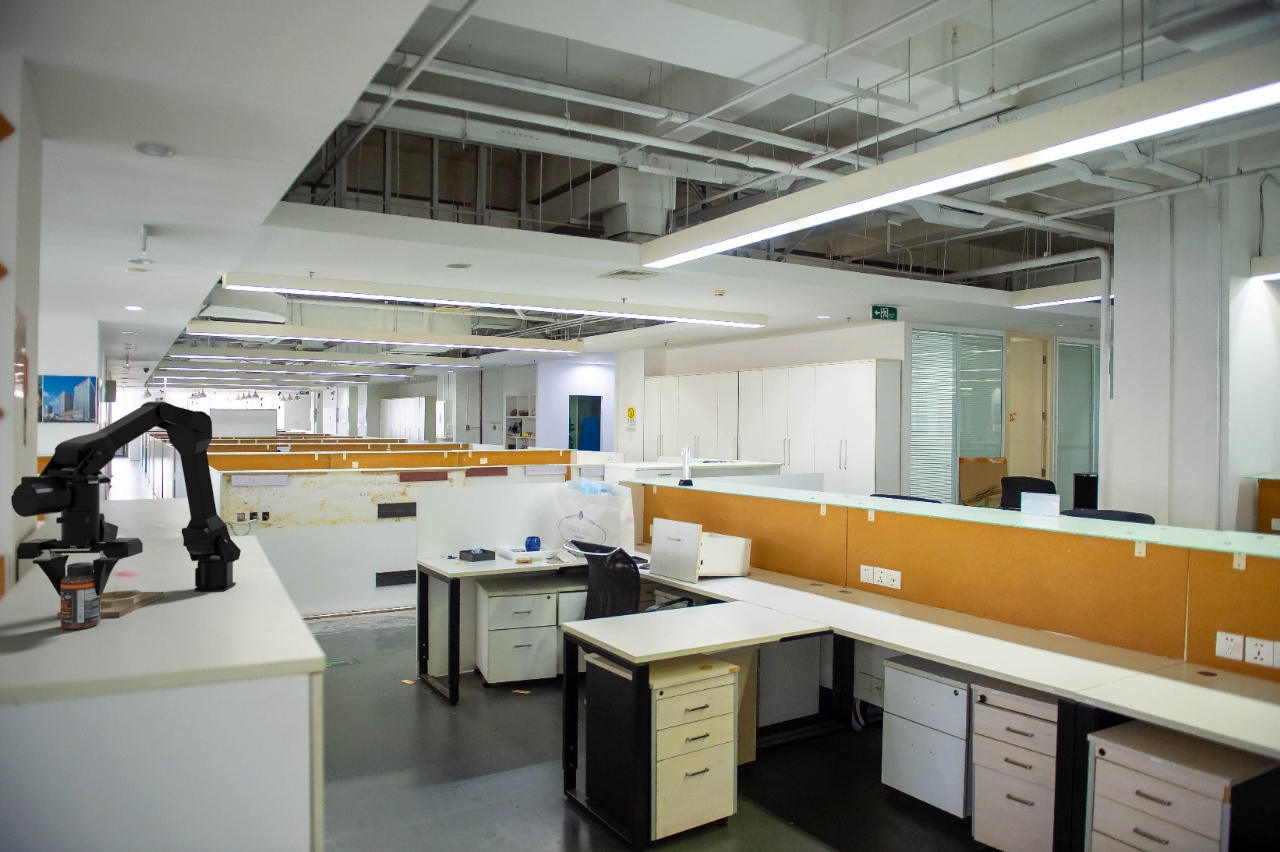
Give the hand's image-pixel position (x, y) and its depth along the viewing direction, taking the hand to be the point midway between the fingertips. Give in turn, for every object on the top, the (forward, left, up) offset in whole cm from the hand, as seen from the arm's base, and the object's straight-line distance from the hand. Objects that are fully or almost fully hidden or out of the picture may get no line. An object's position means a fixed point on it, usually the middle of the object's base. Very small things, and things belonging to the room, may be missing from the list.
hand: (81, 595), depth 143 cm
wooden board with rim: (+2, -14, -6) cm, 16 cm away
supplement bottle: (0, 0, -6) cm, 6 cm away
